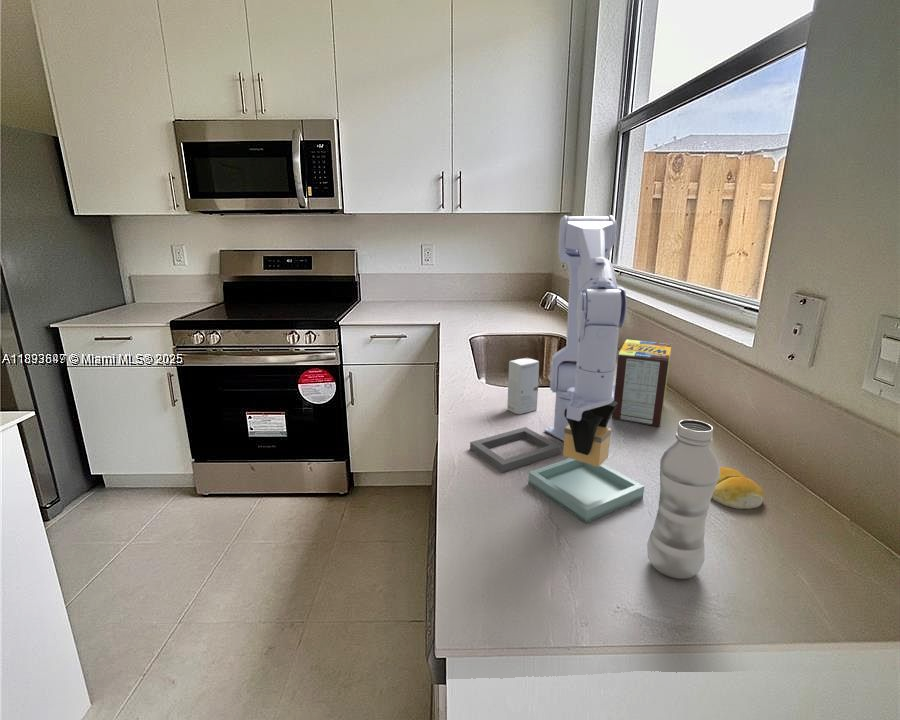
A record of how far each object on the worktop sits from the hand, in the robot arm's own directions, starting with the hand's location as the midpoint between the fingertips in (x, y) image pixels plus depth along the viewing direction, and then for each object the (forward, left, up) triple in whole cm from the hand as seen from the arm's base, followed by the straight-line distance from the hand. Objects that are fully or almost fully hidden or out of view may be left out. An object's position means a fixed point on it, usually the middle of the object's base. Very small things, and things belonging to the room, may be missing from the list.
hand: (588, 447), depth 76 cm
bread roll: (-20, +13, -8) cm, 25 cm away
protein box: (-37, -18, -8) cm, 42 cm away
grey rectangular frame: (+1, -17, -8) cm, 19 cm away
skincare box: (-14, -33, -8) cm, 37 cm away
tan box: (0, 0, -2) cm, 2 cm away
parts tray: (0, 0, -8) cm, 8 cm away
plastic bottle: (+4, +19, -8) cm, 21 cm away
